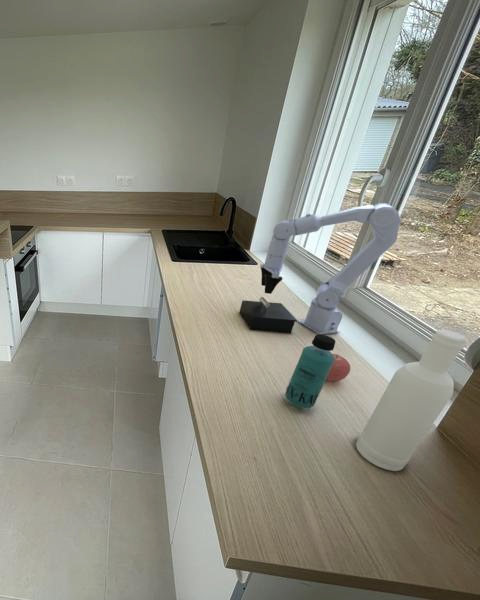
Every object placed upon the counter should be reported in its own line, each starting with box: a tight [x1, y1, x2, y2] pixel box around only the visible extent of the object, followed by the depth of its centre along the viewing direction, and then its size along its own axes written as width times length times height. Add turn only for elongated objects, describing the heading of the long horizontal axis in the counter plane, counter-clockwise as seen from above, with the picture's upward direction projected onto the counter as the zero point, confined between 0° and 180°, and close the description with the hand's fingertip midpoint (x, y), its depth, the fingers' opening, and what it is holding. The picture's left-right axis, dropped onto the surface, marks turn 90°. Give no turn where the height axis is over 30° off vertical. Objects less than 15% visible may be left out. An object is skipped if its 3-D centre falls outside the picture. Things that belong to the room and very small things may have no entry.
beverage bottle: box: [284, 333, 336, 410], centre depth 77 cm, size 6×7×20 cm
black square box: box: [238, 302, 296, 334], centre depth 118 cm, size 13×13×5 cm
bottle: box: [355, 329, 468, 472], centre depth 61 cm, size 8×8×30 cm
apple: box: [326, 353, 351, 382], centre depth 89 cm, size 7×7×8 cm
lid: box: [241, 296, 298, 323], centre depth 116 cm, size 14×13×4 cm
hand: (266, 289), depth 122 cm, fingers open, 7 cm apart
